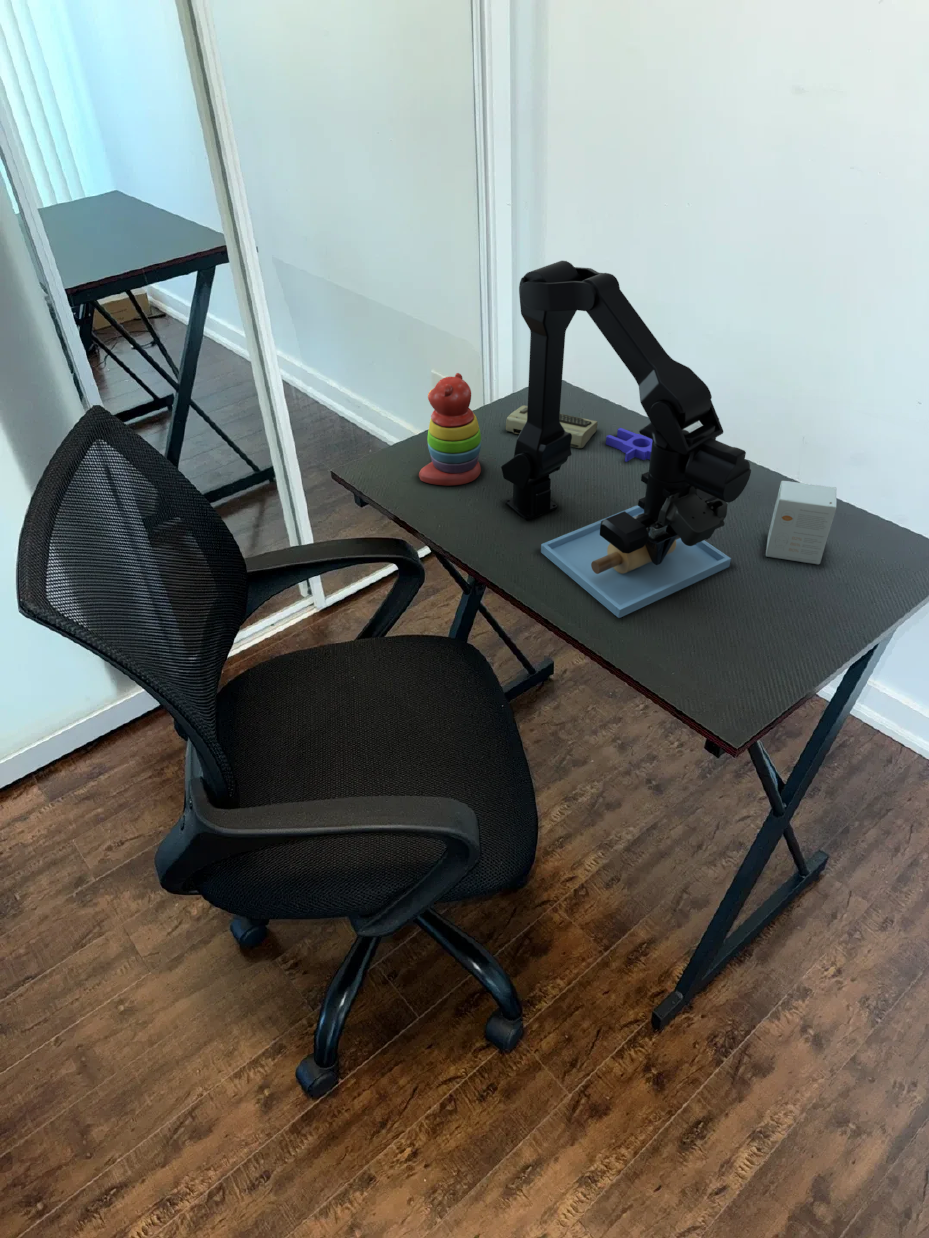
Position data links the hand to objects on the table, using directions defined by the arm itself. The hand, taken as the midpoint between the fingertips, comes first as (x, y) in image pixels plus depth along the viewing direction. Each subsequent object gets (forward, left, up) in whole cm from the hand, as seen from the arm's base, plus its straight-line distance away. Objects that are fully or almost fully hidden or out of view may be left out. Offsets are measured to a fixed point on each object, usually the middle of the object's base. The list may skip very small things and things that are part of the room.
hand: (656, 563), depth 122 cm
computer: (-45, +14, -2) cm, 47 cm away
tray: (-5, 0, -2) cm, 5 cm away
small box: (+7, +22, -2) cm, 23 cm away
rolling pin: (-3, 0, -2) cm, 4 cm away
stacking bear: (-43, -9, -2) cm, 44 cm away
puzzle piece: (-30, +23, -2) cm, 38 cm away
